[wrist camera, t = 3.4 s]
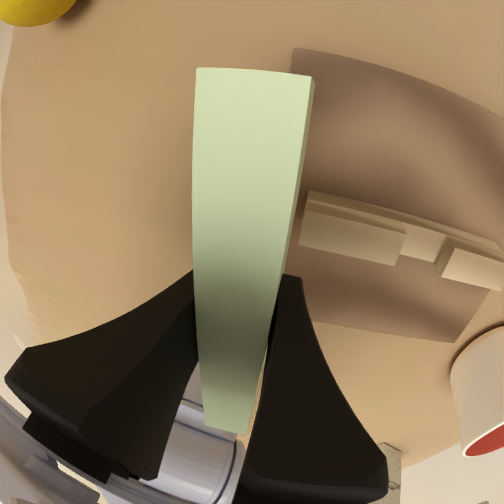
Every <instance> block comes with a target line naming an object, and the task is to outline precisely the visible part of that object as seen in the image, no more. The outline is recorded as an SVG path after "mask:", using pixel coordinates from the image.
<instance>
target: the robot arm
mask: <svg viewBox="0 0 504 504" xmlns="http://www.w3.org/2000/svg"><path fill="white" fill-rule="evenodd" d="M4 378H5V383H6V384H7V385H8V387H9V388H10V389H11V390H12V391H13V393H14V394H15V395H16V396H17V397H18V398H19V399H20V400H21V401H22V402H23V403H24V404H25V405H26V406H27V407H28V408H29V409H30V410H31V411H32V412H31V414H30V416H29V417H28V419H27V418H26V417H24V416H23V415H22V414H21V413H19V412H18V411H17V410H16V409H15V408H14V407H12V406H11V405H10V404H9V403H8V402H6V401H5V400H4V399H3V398H2V397H1V396H0V501H1V502H2V503H3V504H99V503H97V502H98V499H99V497H100V494H99V493H98V492H96V491H94V490H93V489H91V488H90V487H88V486H87V485H85V484H83V483H81V482H80V481H78V480H76V479H75V478H73V477H71V476H69V475H67V474H66V473H64V472H63V471H61V470H60V469H59V468H58V464H57V462H56V460H57V461H58V462H60V463H61V464H63V465H64V466H66V467H67V468H69V469H70V470H72V471H73V472H75V473H76V474H78V475H80V476H82V477H83V478H85V479H87V480H88V481H90V482H92V483H93V484H95V485H96V486H97V488H98V489H99V491H100V492H101V494H102V495H103V496H104V498H105V499H106V500H107V502H108V503H109V504H230V503H231V502H232V503H231V504H368V503H371V502H374V501H377V500H379V499H382V498H384V497H385V496H386V495H387V493H388V488H389V474H388V465H387V458H386V456H385V455H384V453H383V452H382V451H381V450H380V448H379V447H378V446H377V445H376V443H375V442H374V441H373V439H372V438H371V437H370V435H369V434H368V433H367V431H366V430H365V429H364V427H363V426H362V424H361V423H360V421H359V420H358V418H357V417H356V415H355V414H354V412H353V410H352V409H351V407H350V405H349V404H348V402H347V400H346V399H345V397H344V395H343V394H342V392H341V390H340V389H339V387H338V385H337V383H336V381H335V379H334V377H333V375H332V373H331V371H330V369H329V366H328V364H327V362H326V360H325V358H324V355H323V353H322V350H321V348H320V345H319V343H318V340H317V337H316V334H315V331H314V329H313V325H312V322H311V319H310V315H309V312H308V308H307V304H306V300H305V295H304V289H303V280H302V279H301V277H297V276H292V275H287V274H283V273H282V277H281V281H280V285H279V290H278V295H277V300H276V305H275V310H274V315H273V320H272V325H271V330H270V334H269V339H268V345H267V353H266V360H265V367H264V374H263V381H262V388H261V395H260V400H259V405H258V409H257V413H256V417H255V421H254V425H253V429H252V432H251V436H250V440H249V444H248V447H247V451H246V449H245V447H244V444H243V442H242V441H240V440H237V439H236V436H237V434H236V433H232V432H228V431H224V430H221V429H217V428H213V427H210V426H206V425H205V418H204V409H203V400H202V391H201V380H200V369H199V358H198V345H197V331H196V315H195V297H194V274H193V269H192V270H191V271H190V272H189V273H187V274H186V275H185V276H183V277H182V278H181V279H179V280H178V281H176V282H175V283H174V284H172V285H171V286H169V287H168V288H167V289H165V290H164V291H162V292H161V293H159V294H158V295H156V296H155V297H153V298H151V299H150V300H148V301H147V302H145V303H144V304H142V305H140V306H139V307H137V308H135V309H133V310H132V311H130V312H128V313H126V314H124V315H122V316H120V317H118V318H116V319H114V320H112V321H109V322H107V323H105V324H102V325H100V326H98V327H95V328H93V329H91V330H88V331H86V332H83V333H80V334H77V335H74V336H71V337H68V338H65V339H62V340H58V341H55V342H50V343H46V344H42V345H38V346H33V347H28V348H26V349H25V350H24V351H23V353H22V354H21V355H20V357H19V358H18V359H17V360H16V362H15V363H14V365H13V366H12V367H11V369H10V370H9V371H8V373H7V374H6V375H5V377H4ZM479 504H489V502H488V501H485V502H482V503H479Z"/></svg>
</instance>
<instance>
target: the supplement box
mask: <svg viewBox="0 0 504 504" xmlns="http://www.w3.org/2000/svg"><path fill="white" fill-rule="evenodd" d="M377 446H378V447H379V448H380V450H381V451H382V452H383V453H384V455H385V456H386V458H387V465H388V474H389V488H388V493H387V495H386V496H385V497H384V498H382V499H379V500H377V501H374V502H371V503H368V504H400V489H401V452H400V451H398V450H396V449H394V448H392V447H390V446H389V445H387V444H385V443H382V444H378V445H377Z"/></svg>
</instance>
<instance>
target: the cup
mask: <svg viewBox="0 0 504 504" xmlns="http://www.w3.org/2000/svg"><path fill="white" fill-rule="evenodd" d="M450 383H451V388H452V392H453V397H454V403H455V408H456V414H457V420H458V426H459V433H460V441H461V450H462V455H463V456H465V457H475V456H480V455H484V454H487V453H490V452H493V451H495V450H498V449H501V448H503V447H504V326H501V327H498V328H495V329H492V330H490V331H488V332H486V333H484V334H483V335H481V336H480V337H478V338H477V339H475V340H474V341H473V342H471V343H470V344H469V345H468V346H467V347H466V348H465V349H464V350H463V351H462V352H461V353H460V355H459V356H458V357H457V359H456V360H455V362H454V364H453V366H452V369H451V373H450Z"/></svg>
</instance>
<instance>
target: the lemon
mask: <svg viewBox="0 0 504 504" xmlns="http://www.w3.org/2000/svg"><path fill="white" fill-rule="evenodd" d="M75 2H76V0H0V19H1V20H2V21H4V22H5V23H8V24H11V25H14V26H19V27H32V26H38V25H43V24H47V23H49V22H51V21H54V20H56V19H57V18H59V17H61V16H62V15H63V14H64V13H66V12H67V11H68V10H69V9H70V8H71V7H72V6H73V4H74V3H75Z"/></svg>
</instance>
